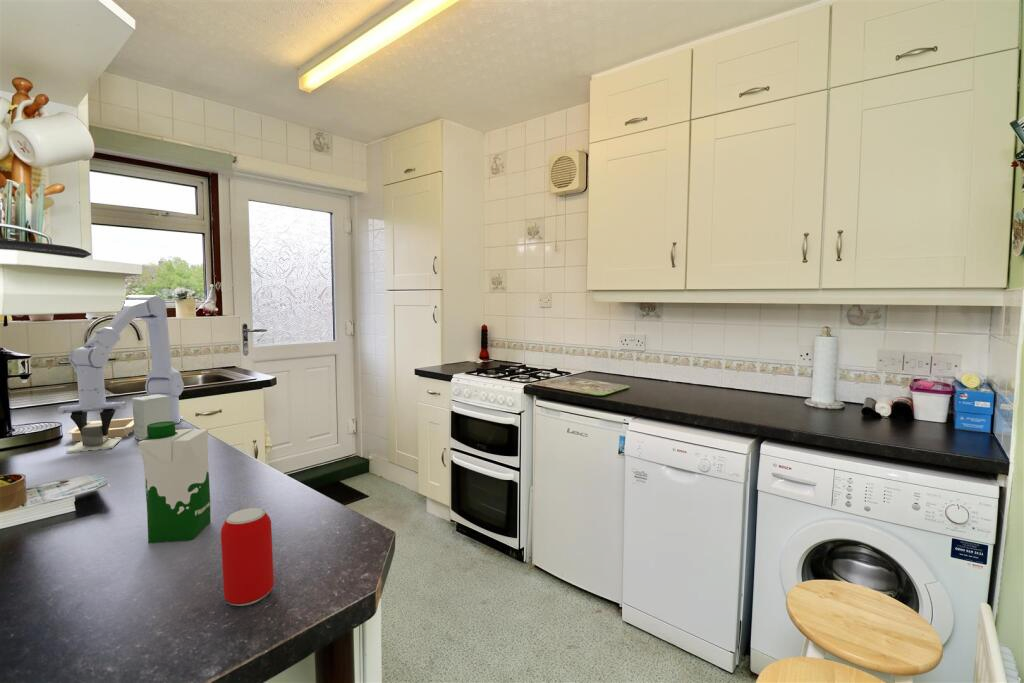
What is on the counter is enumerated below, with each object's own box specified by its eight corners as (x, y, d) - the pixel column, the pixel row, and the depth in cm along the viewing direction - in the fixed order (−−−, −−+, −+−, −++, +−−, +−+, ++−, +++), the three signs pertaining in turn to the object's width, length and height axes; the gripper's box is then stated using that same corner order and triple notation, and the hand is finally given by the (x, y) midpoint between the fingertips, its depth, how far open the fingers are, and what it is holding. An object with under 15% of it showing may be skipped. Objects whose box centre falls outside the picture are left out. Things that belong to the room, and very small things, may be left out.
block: (92, 439, 143) (91, 422, 142) (109, 437, 144) (108, 420, 144) (82, 446, 136) (81, 428, 135) (100, 444, 137) (99, 426, 137)
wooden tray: (83, 431, 155) (83, 422, 155) (142, 425, 162) (141, 417, 161) (65, 443, 141) (64, 433, 141) (130, 437, 148) (129, 427, 148)
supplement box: (173, 436, 149) (170, 395, 148) (144, 442, 143) (142, 400, 142) (161, 433, 153) (159, 393, 152) (133, 438, 147) (131, 397, 146)
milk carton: (166, 523, 91) (159, 418, 89) (218, 519, 93) (213, 416, 91) (138, 546, 83) (131, 431, 81) (197, 542, 84) (190, 428, 82)
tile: (79, 443, 142) (79, 441, 142) (122, 439, 146) (122, 437, 146) (66, 453, 133) (66, 451, 133) (112, 448, 137) (112, 446, 137)
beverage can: (214, 603, 67) (209, 519, 66) (254, 580, 73) (250, 502, 72) (245, 615, 65) (240, 528, 64) (283, 589, 70) (280, 509, 69)
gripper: (52, 393, 131) (56, 442, 132) (119, 389, 138) (122, 436, 139) (62, 389, 138) (66, 436, 139) (126, 385, 144) (129, 430, 145)
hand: (95, 436), depth 139 cm, fingers closed on block, 4 cm apart
